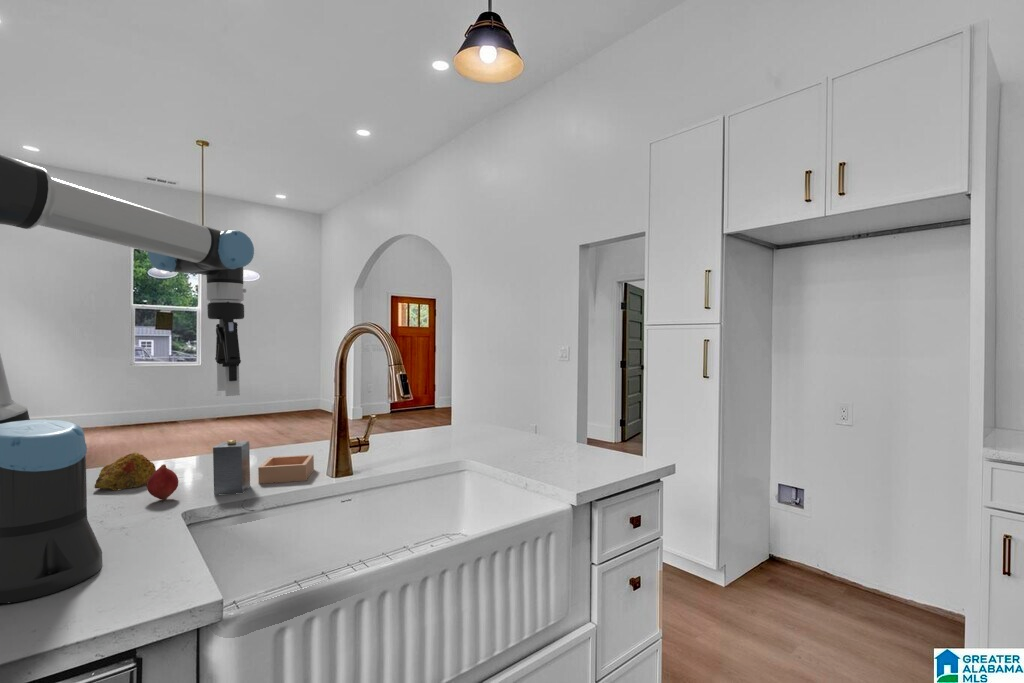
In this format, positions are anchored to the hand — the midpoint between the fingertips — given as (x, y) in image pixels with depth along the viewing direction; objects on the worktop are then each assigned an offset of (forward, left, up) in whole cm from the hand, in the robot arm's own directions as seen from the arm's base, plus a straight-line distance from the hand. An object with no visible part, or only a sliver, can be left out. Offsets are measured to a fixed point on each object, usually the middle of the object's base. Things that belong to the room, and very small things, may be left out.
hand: (228, 393), depth 121 cm
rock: (+11, +27, -23) cm, 37 cm away
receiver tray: (+10, -10, -23) cm, 27 cm away
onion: (-4, +13, -23) cm, 27 cm away
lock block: (0, 0, -23) cm, 23 cm away
